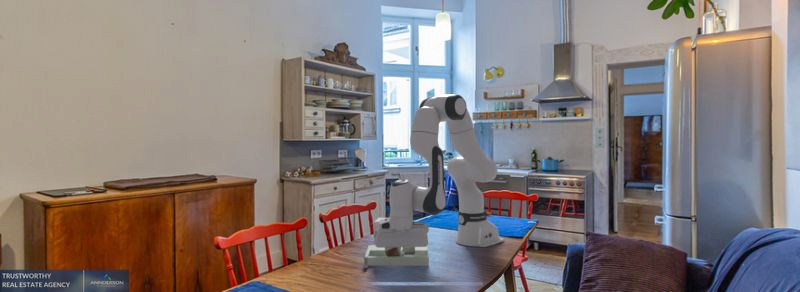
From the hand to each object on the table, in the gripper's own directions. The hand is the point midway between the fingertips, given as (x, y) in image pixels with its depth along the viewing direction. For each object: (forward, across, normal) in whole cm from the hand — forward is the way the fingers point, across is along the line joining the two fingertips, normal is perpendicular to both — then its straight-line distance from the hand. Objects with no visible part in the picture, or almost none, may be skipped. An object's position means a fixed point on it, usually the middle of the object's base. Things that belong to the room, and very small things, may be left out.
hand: (401, 258), depth 148 cm
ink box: (+3, +9, -25) cm, 26 cm away
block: (+1, +3, 0) cm, 3 cm away
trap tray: (+2, +2, -4) cm, 5 cm away
